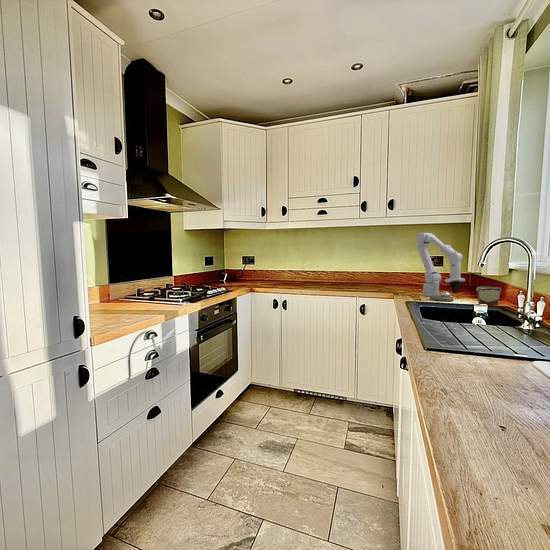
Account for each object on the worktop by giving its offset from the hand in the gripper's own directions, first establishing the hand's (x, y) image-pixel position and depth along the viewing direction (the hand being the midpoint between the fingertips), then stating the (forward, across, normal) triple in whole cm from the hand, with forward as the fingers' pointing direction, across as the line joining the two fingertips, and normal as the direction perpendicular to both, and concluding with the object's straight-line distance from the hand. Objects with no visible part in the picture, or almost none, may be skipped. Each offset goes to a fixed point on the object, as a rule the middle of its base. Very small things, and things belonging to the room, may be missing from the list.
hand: (454, 293), depth 191 cm
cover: (+2, -8, 0) cm, 8 cm away
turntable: (+4, -11, 0) cm, 12 cm away
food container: (+4, -4, -22) cm, 23 cm away
